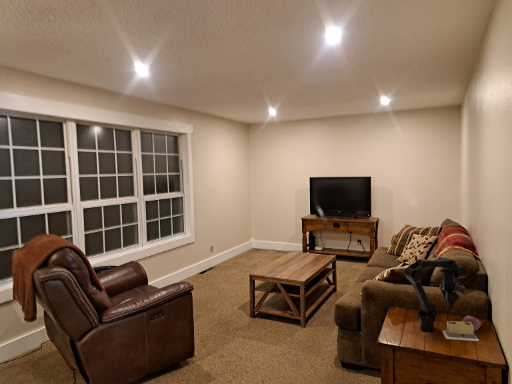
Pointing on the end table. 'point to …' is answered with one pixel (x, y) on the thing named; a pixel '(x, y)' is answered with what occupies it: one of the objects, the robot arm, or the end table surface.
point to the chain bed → (460, 336)
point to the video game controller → (474, 320)
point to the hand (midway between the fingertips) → (449, 305)
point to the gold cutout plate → (460, 327)
